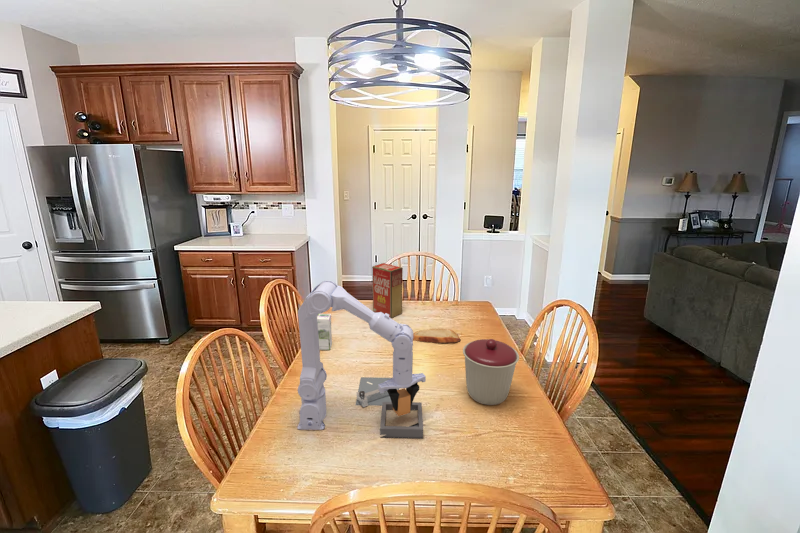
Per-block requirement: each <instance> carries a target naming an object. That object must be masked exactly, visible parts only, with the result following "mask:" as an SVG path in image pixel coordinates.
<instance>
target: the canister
mask: <svg viewBox="0 0 800 533" xmlns="http://www.w3.org/2000/svg"><path fill="white" fill-rule="evenodd" d="M462 354H463V356H464V364H465V365H464V366H465V369H464V370H465V383H466V385H465V386H466V390H467V392H468V395H469V396H470V397H471V399H473V400H474V401H475V402H477V403H480V404H482V405H486V406H487V405H488V406H495V405H499V404H502V403H504V401H505V400H507V398H508V395H509V393H510V390H511V389H510V388H511V386H512V383H513V382H512V381H513V378H514V372H515V368H516V364H517V363H518V362H519V361H520V355H519V353H518V351H517V350H516V349H515V348H513V347H512V346H510V345H509V344H507V343H505V342H502V341H499V340H496V339H495V338H494V339H493V338H488V339H487V338H485V339H477V340H473V341H470V342H468V343H466V344H465V345H464V346H463V348H462Z"/></svg>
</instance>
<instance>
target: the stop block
mask: <svg viewBox="0 0 800 533" xmlns="http://www.w3.org/2000/svg"><path fill="white" fill-rule="evenodd" d="M397 392H398V393H399V394H400V395H399V398H398V410H397V411H395V410H394V408H393V410H392V411H393V412H394V413H395V414H396V415H397V417H401V416H404V415H407V414H410V413H411V410H410V399H411V395H410V394H409V393H408V392H407V390H406V388H399V390H397Z"/></svg>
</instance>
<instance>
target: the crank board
mask: <svg viewBox="0 0 800 533" xmlns="http://www.w3.org/2000/svg"><path fill="white" fill-rule="evenodd" d="M391 378H392V377H372V376H371V377H369V376H368V377H362V376H361V377H360V380H359V384H358V389H357V392H360V391H364V392H365V393H368V392H371V391H374V390H377V389H378V384H381V383H383V382H385V381H387V380H389V379H391ZM398 390H400V388H399V389H398ZM382 402H392V401H391V398H390V396H389V395H388V396H385V397H382V398H379V399H376V400H373V401H370V402H368V406H371V407H372V406H377V407H380V406H381V407H382ZM355 406H362V405H361V404H360V403H359V401H358V400H357V398H356V399H355Z"/></svg>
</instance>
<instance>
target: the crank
mask: <svg viewBox="0 0 800 533" xmlns="http://www.w3.org/2000/svg"><path fill="white" fill-rule="evenodd" d="M397 390H398V389H397ZM388 395H389V394H388V392H387V391H384V393H380V392H379V390H378V389H377V390H374V391H371V392H368V393H365V392H364V391H360V392H358V391H357V392H356V399H357V400H358V401H359V403H360V404H361V405H360V406H361V407H362V408H365V407H367V406H368V402H370V401H373V400H376V399H379V398H382V397H385V396H388Z"/></svg>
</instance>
